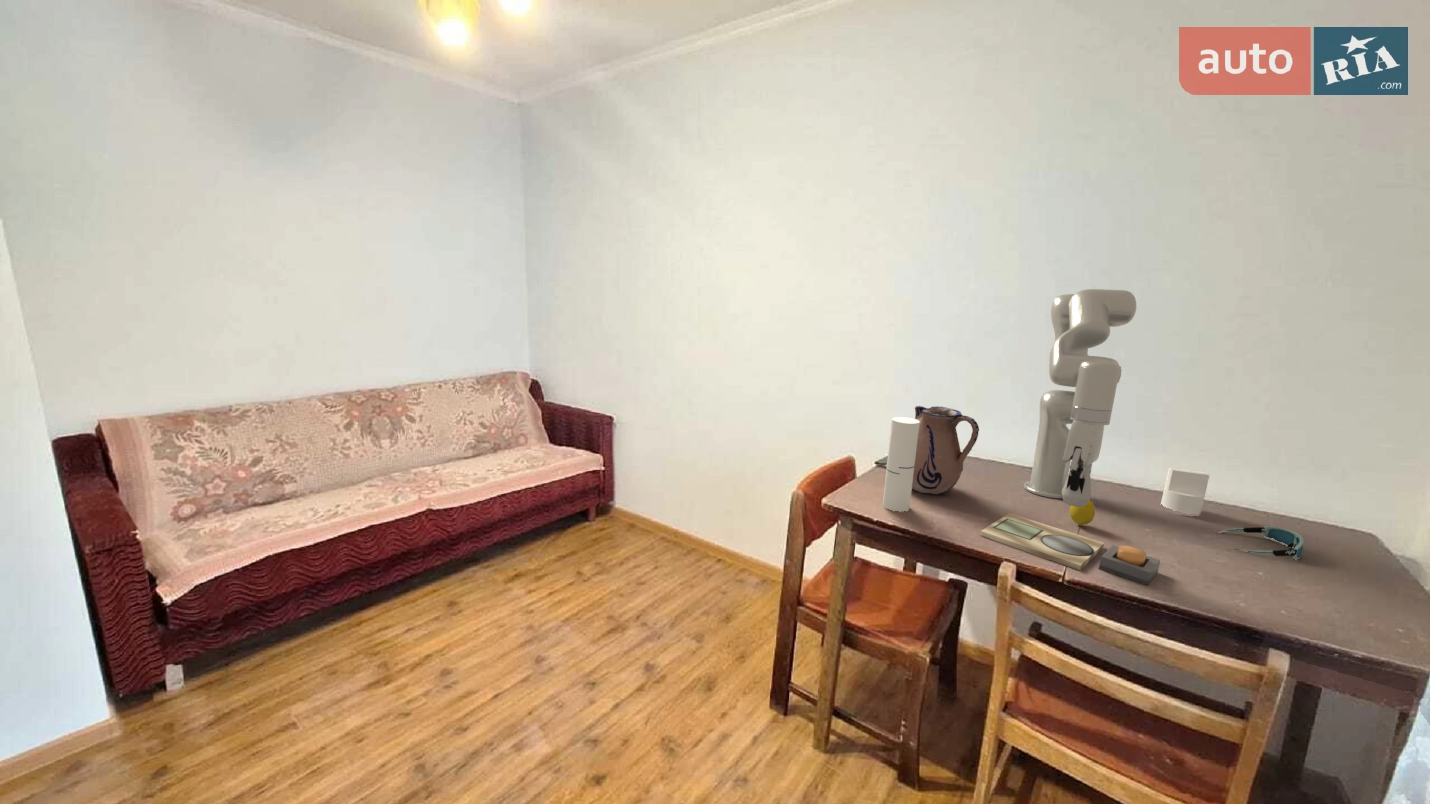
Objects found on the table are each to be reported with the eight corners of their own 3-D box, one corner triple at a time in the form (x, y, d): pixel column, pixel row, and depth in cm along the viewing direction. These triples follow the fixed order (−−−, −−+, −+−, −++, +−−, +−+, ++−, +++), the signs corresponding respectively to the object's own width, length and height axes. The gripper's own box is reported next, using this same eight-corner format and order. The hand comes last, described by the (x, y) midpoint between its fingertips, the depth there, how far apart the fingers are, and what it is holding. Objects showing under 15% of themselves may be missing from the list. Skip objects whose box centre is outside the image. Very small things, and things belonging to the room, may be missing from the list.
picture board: (1009, 517, 153) (1010, 512, 152) (1103, 547, 137) (1104, 542, 136) (980, 535, 141) (980, 530, 141) (1079, 570, 125) (1080, 565, 125)
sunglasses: (1316, 566, 132) (1318, 546, 131) (1236, 561, 137) (1237, 542, 136) (1281, 541, 145) (1283, 522, 144) (1209, 537, 150) (1210, 519, 149)
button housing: (1110, 556, 132) (1112, 545, 131) (1157, 572, 125) (1160, 560, 125) (1098, 568, 126) (1101, 556, 125) (1147, 585, 120) (1150, 572, 119)
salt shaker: (1085, 501, 134) (1095, 449, 131) (1092, 510, 129) (1102, 455, 126) (1057, 497, 136) (1066, 445, 133) (1063, 505, 131) (1072, 452, 128)
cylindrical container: (910, 513, 153) (921, 424, 148) (883, 510, 154) (893, 422, 149) (907, 503, 160) (917, 418, 154) (881, 500, 161) (890, 416, 156)
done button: (1119, 553, 129) (1121, 543, 128) (1146, 562, 125) (1148, 552, 125) (1113, 560, 125) (1115, 550, 125) (1140, 569, 122) (1143, 558, 121)
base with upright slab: (1166, 513, 160) (1175, 473, 157) (1155, 502, 168) (1164, 464, 165) (1205, 519, 157) (1215, 478, 154) (1192, 507, 165) (1202, 468, 162)
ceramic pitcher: (907, 475, 184) (915, 400, 178) (976, 491, 172) (988, 411, 166) (889, 490, 170) (897, 409, 164) (963, 508, 158) (975, 422, 152)
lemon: (1090, 523, 150) (1095, 495, 149) (1093, 531, 145) (1099, 502, 144) (1066, 519, 153) (1071, 491, 151) (1068, 527, 148) (1074, 498, 146)
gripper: (1083, 407, 136) (1070, 479, 140) (1059, 416, 125) (1046, 494, 129) (1120, 413, 130) (1105, 488, 134) (1099, 423, 120) (1083, 504, 124)
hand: (1076, 490), depth 132 cm, fingers closed on salt shaker, 3 cm apart
